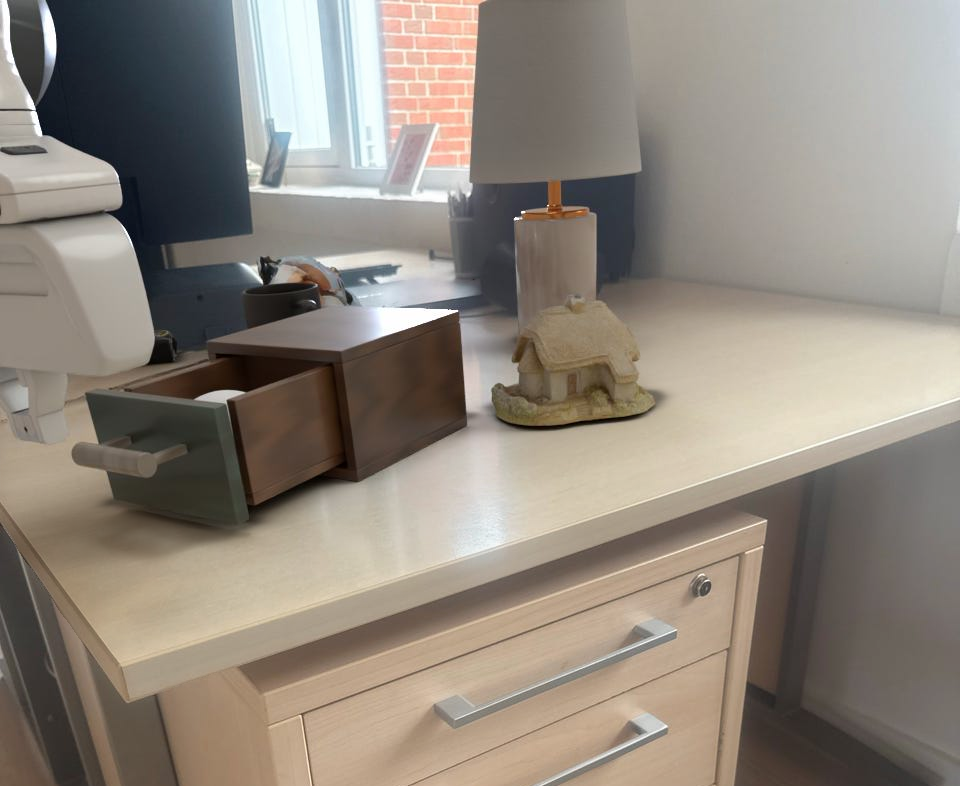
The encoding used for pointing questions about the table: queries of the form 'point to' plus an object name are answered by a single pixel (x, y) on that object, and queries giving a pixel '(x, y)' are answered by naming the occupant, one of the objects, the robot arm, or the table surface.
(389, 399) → the cabinet
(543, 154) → the lamp
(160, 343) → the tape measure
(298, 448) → the drawer
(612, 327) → the ceramic model
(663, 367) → the table surface
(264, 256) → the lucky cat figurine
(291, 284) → the mug
